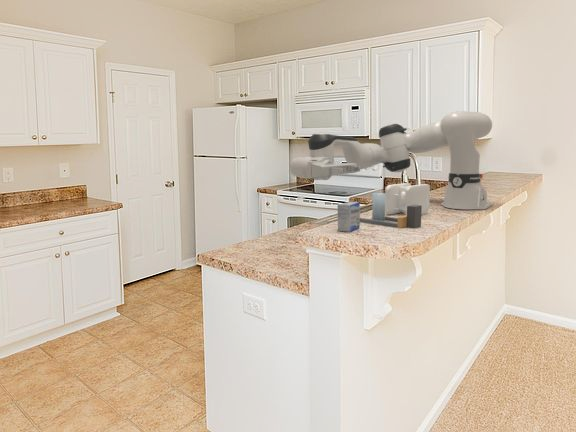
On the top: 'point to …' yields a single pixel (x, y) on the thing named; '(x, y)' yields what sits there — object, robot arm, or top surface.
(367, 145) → the robot arm
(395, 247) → the top surface
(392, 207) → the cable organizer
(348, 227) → the medicine box
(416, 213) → the comb channel
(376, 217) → the marker sleeve
